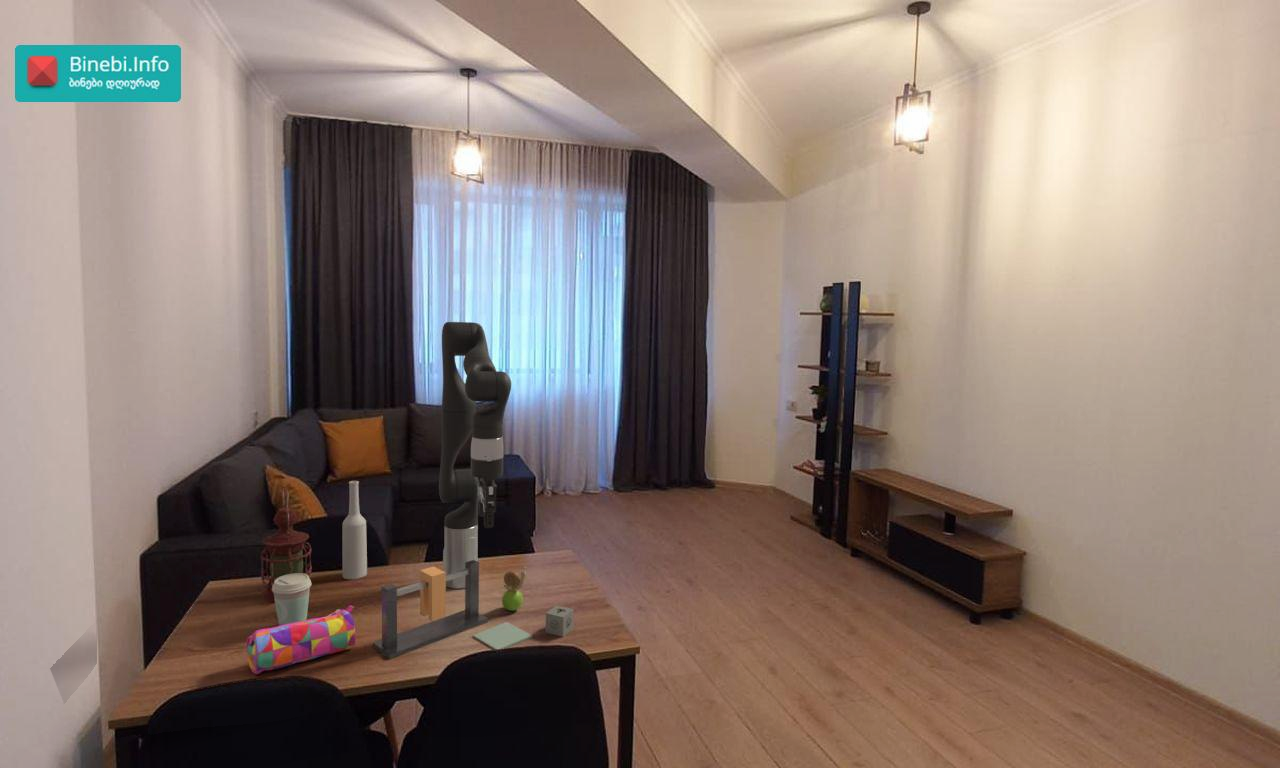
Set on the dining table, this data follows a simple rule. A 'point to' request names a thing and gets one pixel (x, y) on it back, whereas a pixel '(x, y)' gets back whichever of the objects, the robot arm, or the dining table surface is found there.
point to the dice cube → (559, 620)
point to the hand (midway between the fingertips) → (486, 521)
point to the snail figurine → (513, 590)
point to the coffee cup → (291, 597)
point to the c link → (433, 593)
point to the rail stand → (433, 630)
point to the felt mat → (502, 636)
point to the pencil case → (300, 641)
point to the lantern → (284, 549)
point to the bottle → (354, 538)
